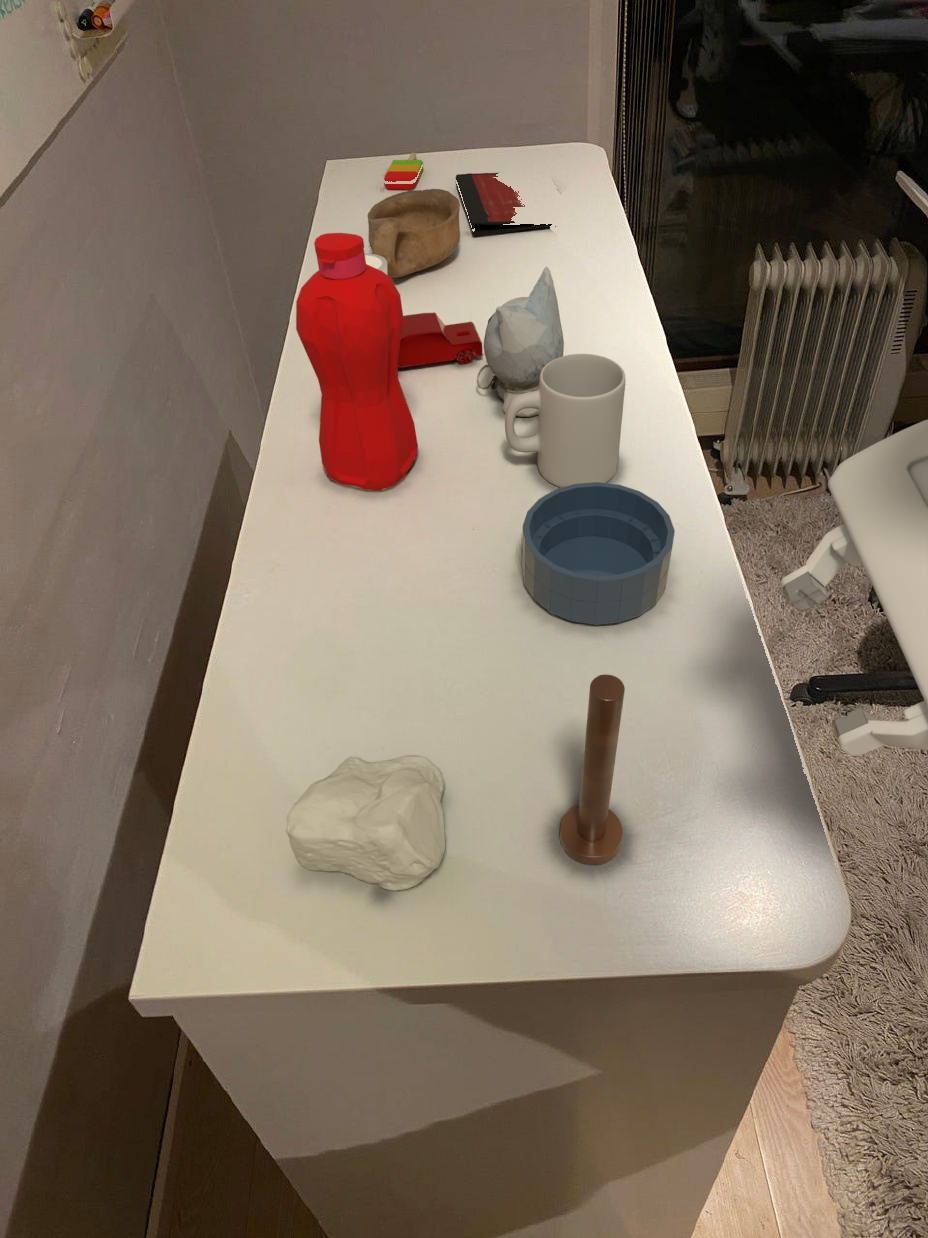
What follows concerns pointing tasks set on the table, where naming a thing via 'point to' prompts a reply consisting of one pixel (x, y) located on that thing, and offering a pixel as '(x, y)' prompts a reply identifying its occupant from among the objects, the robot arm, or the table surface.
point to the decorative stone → (372, 821)
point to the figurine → (523, 342)
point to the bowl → (414, 229)
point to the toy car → (436, 341)
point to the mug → (574, 419)
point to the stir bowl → (596, 552)
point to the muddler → (597, 779)
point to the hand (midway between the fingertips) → (813, 664)
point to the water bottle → (356, 365)
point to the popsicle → (403, 173)
